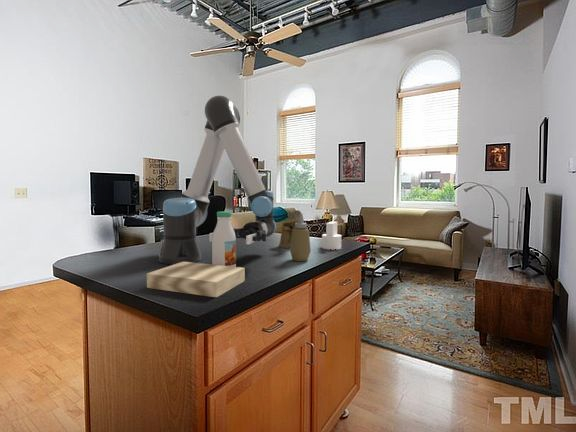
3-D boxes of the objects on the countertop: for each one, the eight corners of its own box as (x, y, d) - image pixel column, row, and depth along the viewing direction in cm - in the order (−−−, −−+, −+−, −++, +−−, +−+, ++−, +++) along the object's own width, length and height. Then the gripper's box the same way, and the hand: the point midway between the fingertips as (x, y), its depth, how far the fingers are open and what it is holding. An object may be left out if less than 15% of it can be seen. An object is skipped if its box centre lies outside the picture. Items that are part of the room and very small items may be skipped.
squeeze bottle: (310, 258, 133) (311, 213, 132) (310, 262, 125) (311, 215, 124) (290, 257, 134) (291, 212, 133) (288, 261, 126) (289, 214, 125)
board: (147, 287, 92) (146, 273, 92) (183, 273, 107) (182, 261, 107) (216, 297, 85) (216, 282, 85) (244, 280, 100) (244, 267, 100)
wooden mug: (288, 250, 148) (289, 210, 147) (275, 245, 160) (276, 208, 159) (306, 249, 152) (306, 210, 151) (292, 244, 164) (292, 208, 163)
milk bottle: (215, 276, 105) (215, 212, 103) (209, 270, 112) (209, 211, 110) (239, 273, 109) (239, 212, 107) (231, 268, 115) (231, 210, 114)
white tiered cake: (325, 245, 163) (325, 221, 162) (343, 247, 159) (343, 222, 158) (319, 248, 155) (320, 222, 154) (338, 250, 151) (339, 224, 150)
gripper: (284, 242, 126) (263, 253, 106) (226, 238, 134) (195, 247, 114) (285, 223, 126) (263, 229, 106) (226, 220, 134) (195, 225, 113)
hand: (228, 238), depth 110 cm, fingers open, 13 cm apart
